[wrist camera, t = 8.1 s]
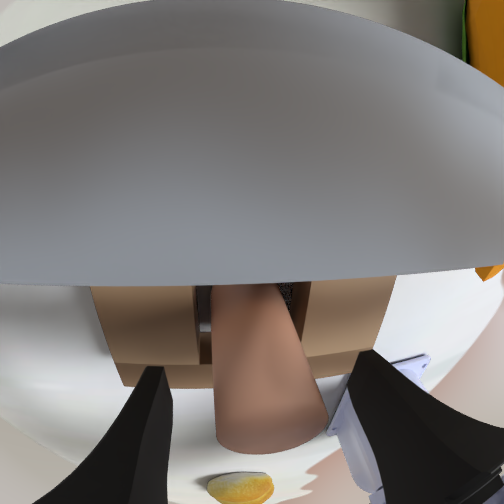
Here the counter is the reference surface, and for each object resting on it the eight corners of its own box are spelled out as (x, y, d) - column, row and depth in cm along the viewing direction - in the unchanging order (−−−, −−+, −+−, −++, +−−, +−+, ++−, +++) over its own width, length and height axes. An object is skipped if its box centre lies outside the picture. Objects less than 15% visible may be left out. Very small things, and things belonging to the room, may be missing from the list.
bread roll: (267, 464, 26) (273, 493, 22) (273, 484, 30) (278, 507, 26) (197, 473, 25) (198, 501, 22) (215, 491, 29) (218, 514, 26)
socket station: (349, 344, 18) (401, 440, 10) (131, 356, 16) (108, 471, 9) (393, 99, 11) (529, 107, 4) (93, 87, 9) (-34, 67, 2)
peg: (271, 324, 16) (308, 449, 9) (207, 320, 15) (212, 454, 8) (286, 269, 15) (345, 396, 7) (214, 262, 14) (222, 402, 7)
